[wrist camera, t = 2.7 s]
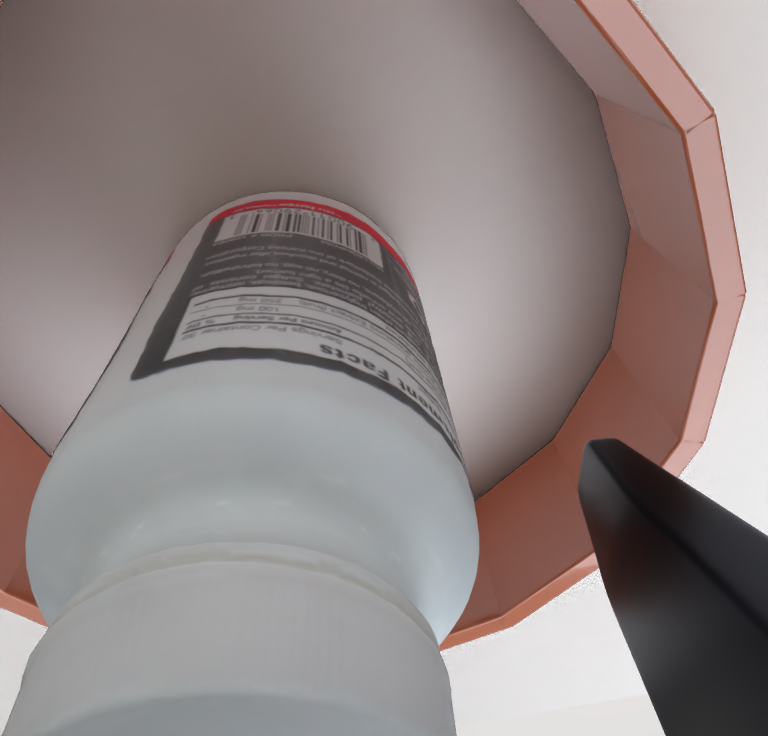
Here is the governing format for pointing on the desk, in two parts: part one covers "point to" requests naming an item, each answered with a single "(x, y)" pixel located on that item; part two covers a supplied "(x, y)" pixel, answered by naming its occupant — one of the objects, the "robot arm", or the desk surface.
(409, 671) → the pill bottle
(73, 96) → the desk surface
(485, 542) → the ring
